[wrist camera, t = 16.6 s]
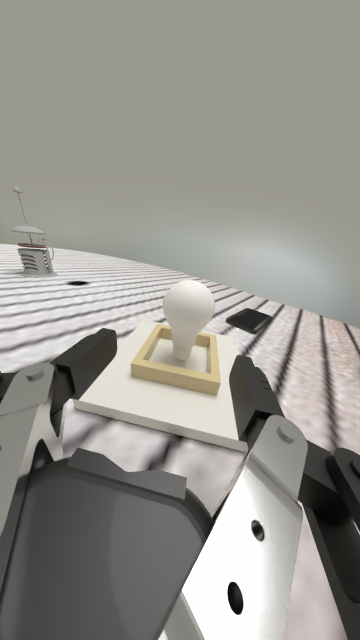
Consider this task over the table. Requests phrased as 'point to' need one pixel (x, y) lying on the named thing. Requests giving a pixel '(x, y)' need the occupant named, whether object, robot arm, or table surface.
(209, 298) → the lightbulb
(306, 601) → the table surface
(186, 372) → the lamp base
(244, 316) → the phone
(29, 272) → the french press
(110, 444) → the table surface
